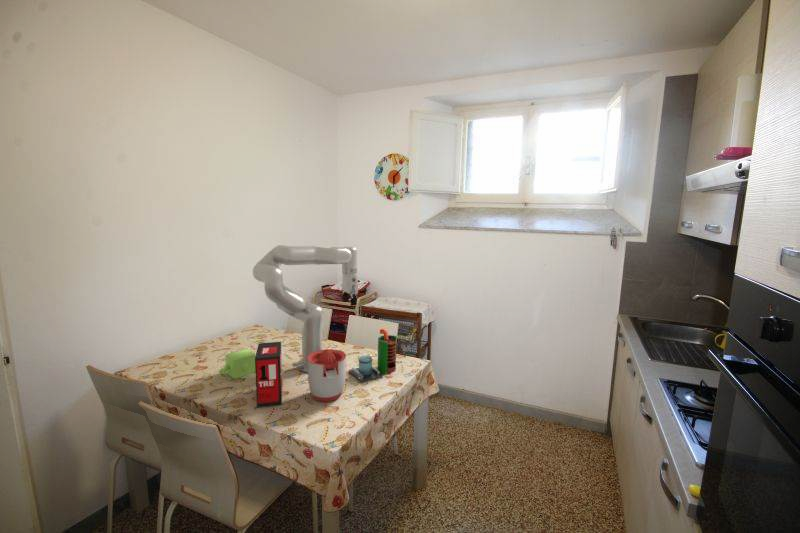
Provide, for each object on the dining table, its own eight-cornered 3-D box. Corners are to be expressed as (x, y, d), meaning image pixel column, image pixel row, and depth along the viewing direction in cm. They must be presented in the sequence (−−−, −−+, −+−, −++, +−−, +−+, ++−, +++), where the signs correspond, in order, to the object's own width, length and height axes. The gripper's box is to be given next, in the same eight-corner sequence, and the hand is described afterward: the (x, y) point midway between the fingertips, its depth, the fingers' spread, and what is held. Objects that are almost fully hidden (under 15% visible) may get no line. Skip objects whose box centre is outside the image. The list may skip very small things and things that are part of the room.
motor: (393, 374, 169) (393, 333, 166) (374, 372, 171) (375, 332, 168) (397, 366, 179) (398, 327, 176) (380, 364, 181) (380, 325, 178)
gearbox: (224, 384, 158) (223, 364, 156) (215, 376, 164) (214, 357, 163) (263, 371, 171) (263, 352, 169) (254, 364, 177) (253, 346, 176)
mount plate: (361, 383, 160) (361, 377, 160) (348, 372, 171) (348, 367, 171) (382, 377, 166) (382, 372, 166) (369, 367, 177) (369, 362, 177)
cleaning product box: (260, 388, 154) (258, 343, 151) (282, 385, 157) (281, 341, 154) (257, 408, 139) (254, 358, 136) (281, 404, 141) (279, 356, 138)
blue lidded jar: (362, 376, 164) (362, 362, 163) (356, 371, 170) (356, 357, 169) (374, 373, 168) (374, 359, 167) (368, 368, 173) (368, 354, 172)
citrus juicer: (312, 410, 137) (311, 360, 134) (304, 390, 153) (303, 345, 150) (352, 402, 144) (351, 354, 141) (341, 383, 159) (340, 340, 156)
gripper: (363, 272, 180) (363, 306, 182) (349, 268, 194) (349, 299, 197) (349, 273, 176) (350, 308, 178) (336, 269, 190) (336, 300, 192)
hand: (349, 303), depth 187 cm, fingers open, 9 cm apart
